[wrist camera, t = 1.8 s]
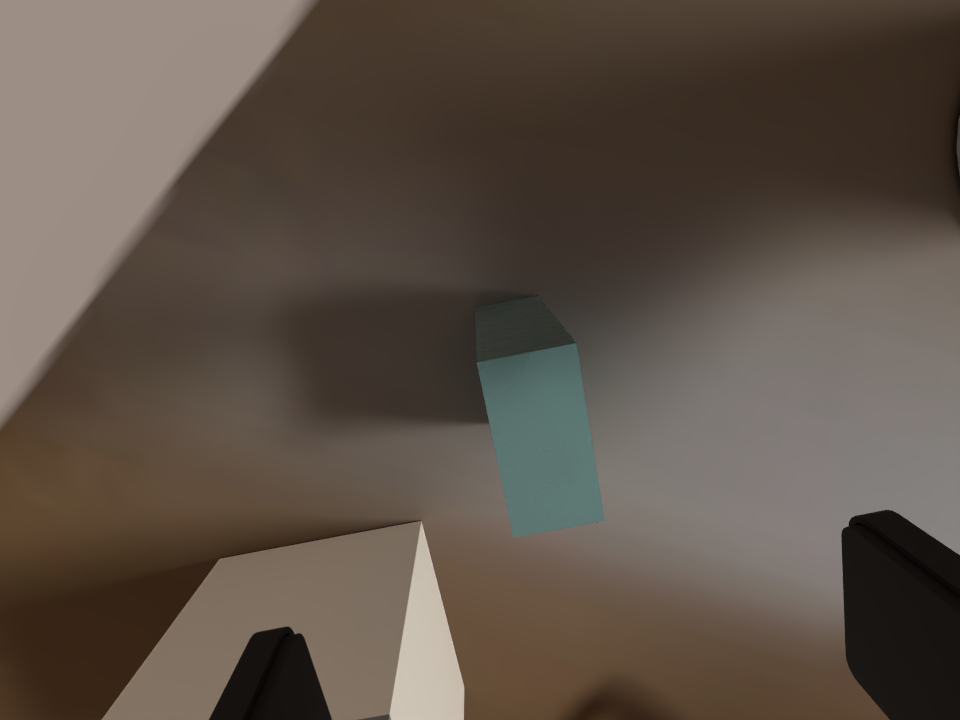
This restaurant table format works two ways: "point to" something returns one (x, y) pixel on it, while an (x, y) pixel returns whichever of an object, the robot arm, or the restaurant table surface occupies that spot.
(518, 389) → the teal block
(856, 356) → the restaurant table surface
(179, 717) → the white slotted box
